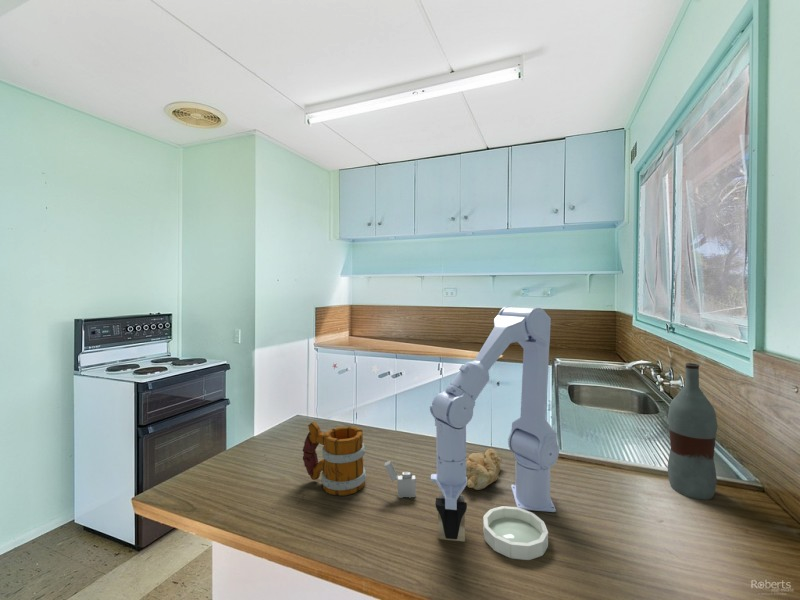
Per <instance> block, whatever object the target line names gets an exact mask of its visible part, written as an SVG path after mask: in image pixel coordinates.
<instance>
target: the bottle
mask: <svg viewBox="0 0 800 600" xmlns="http://www.w3.org/2000/svg"><path fill="white" fill-rule="evenodd" d="M684 365H685V371H684V372H685V373H684V374H685V375H684V377H685V378H684V381H685V382H684V386H683V387H682V389H681V390H680V391H679V392H678V393H677V395H675V397H673V399H672V400H671V401H670V402H669V403H670V404H669V405H668V406H669V407H668V413H667V422H668V428H669V430H668V431H669V444H670V450H669V455H668V460H667V476H668V481H669V484H670V487H671V489H672V490H674V491H675V492H677V493H679V494H680V495H682V496H685V497H688V498H691V499H696V500H710V499H712V498H713V497H714V495H715V493H716V489H717V482H718V478H717V470H716V464H715V460H714V455H715V448H716V447H715V446H716V438H717V431H718V419H717V414H716V411H715V407H714V406H713V404H712V403H711V402H710V400H709V399H708V398H707V396H706V395H705V394H704V392H703V391H702V389H701V387H700V365H699V364H698V363H694V362H693V363H691V362H686V363H685V364H684Z"/></svg>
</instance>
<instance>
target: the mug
mask: <svg viewBox="0 0 800 600" xmlns="http://www.w3.org/2000/svg"><path fill="white" fill-rule="evenodd" d="M307 427H308V431H309V432H308V433H307V435H306V437H305V441H304V445H303V447H302V452H303V456H302V460H303V465H304V466H303V467H305V470H306V471H307V474H308V476H310V479H311V480H313V481H315V480H318V479H319V478H320V475H321V483H322V489H323V491H325V493H327V494H329V495H333V496H337V495H338V496H339V497H345V496H350V495H353V494H356V493H357V492H359V491H360V490H362V489H363V488H364V487H365V485H366V480H367V473H366V472H367V471H366V468H365V466H364V455H365V454H366V450H365V443H364V442H363V441H364V434H363V433H364V432H363V429H362V428H360V427H357V426H338V427H334V428H331V429H329V430H326V431H325V432H322V431H321V430H322V429H321V427H320V426H319V425H318V424H317V423H316V422H315V421H312V422H310V423H309V424H308V425H307ZM319 444H320V445H322V452H321V453H322V455H321V456H322V459H320V461H319V458H318V453H317V450H316V449H317V447H318V446H319Z"/></svg>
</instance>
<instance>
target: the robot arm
mask: <svg viewBox="0 0 800 600" xmlns="http://www.w3.org/2000/svg"><path fill="white" fill-rule="evenodd" d="M551 323H552V320H551V316H550V315H549V314H547V312H546V310H544V309H543V308H541V307H534V308H532V307H514V306H513V307H511V306H504V307H502V308H501V309H500V310H499V312H498V314H497V315H496V316H495V317H494V319H493V325H494V327H493V329H492V331H490V333H489V336H488V337H487V339H486V340H485V342H484V343H483V345H482V347H481V348H480V351H479V352H478V353H477V354H476V357H475V359H473V360H471V361H466V362H465V363H464V364H461V366H460V367H459V371H458V373H457V374H456V375H455V377H454V378H453V380H451V382H450V384H448V386H447V387H446V389H445V391H441V392H439V393H438V394H436V395H435V397H434V398H433V401H432V403H431V405H430V406H429V410H430V411H429V412H430V414H431V415H432V417H433V418H434V426H435V427H436V429H435V430H436V431H435V434H436V444H435V445H436V449H435V450H436V473H432V474H430V482H431V483H434V484H435V483H436V485H437V486H438V489H439V490H440V492H441V493H442V494H443V496H444V498H445V499H444V498H439V497H436V498H435V508H436V510H437V513H438V512H439V514H440V517H441V519H442V523H443V529H444V534H445V537H446V538H447V539H457V537H458V533H459V528H460V523H461V519H462V517H463V515H464V513H466V511H467V508H468V506H467V505H468V503H467V502H457V499H458V497H459V496H461V494H462V492H463V491H464V490H465V488H466V486H467V477H466V457H467V426H468V424H469V423H470V422H471V421H472V419H473V416H474V409H475V406H476V400H477V399H478V397H479V396H480V395H481V393H482V391H483V390H484V388H485V387H486V386H487V384H488V382H489V381H490V373H489V370H490V369H491V368H492V367H493V366H494V364H495V363H496V362H497V360H498V359H499V358H500V357H501V355H503V353H504V352H505V351H506V349H508V348H509V346H510V345H511V344H514V343H518V344H519V345H520V346H521V348H522V349H523V353H522V354H523V357H522V376H521V377H522V378H521V396H520V397H521V399H520V417H519V418H517V419H515V420H513V421H512V422H511V429H510V433H509V435H508V438H507V440H508V441H507V444H508V448H509V450H510V451H511V452H512V453H513V458H514V459H515V462H514V464H515V466H514V467H515V468H514V469H515V470H514V472H515V473H514V474H515V475H514V479H515V484H510V488H511V492H512V494H513V499H514V502H515V507H518V508H521V509H524V510H526V511H537V512H548V513H550V512H551V513H555V512H557V511H556V506H555V505H554V501H552V498H551V468H552V467H554V465H555V464H556V463H557V461H558V459H559V455H560V449H559V445H558V441H557V435H558V434H557V432H556V430H555V429H554V428H553V427H552V425H551V424H550V423H549V422H548V421H547V405H548V403H547V401H548V384H549V382H548V381H549V363H550V362H549V361H550V344H551V343H550V340H551Z"/></svg>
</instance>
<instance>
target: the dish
mask: <svg viewBox="0 0 800 600" xmlns="http://www.w3.org/2000/svg"><path fill="white" fill-rule="evenodd" d="M482 531H483V540H484V541H485V542H486V543H487V544H488V545H489V547H490V548H491V549H492V550H493V551H494V552H496V553H498V554H501V555H502V556H505V557H507V558H509V559H513V560H514V559H515V560H523V561H531V560H533V559H536V558H537V559H538V558H540V557H542V556H543V555H544V554H545V553H546V551H547V549H548V547H549V530H548V529H547V526H546V523H545V521H544V520H542V519H541V518H540V517H539V516H538V515H536V514H535V512H531V511H530V510H524V509H521V508H518V507H517V506H506V505H502V506H497V507H494V508H490V509H489V510H488V511H487V512H486V513H485V514H484V515H483V517H482Z"/></svg>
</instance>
